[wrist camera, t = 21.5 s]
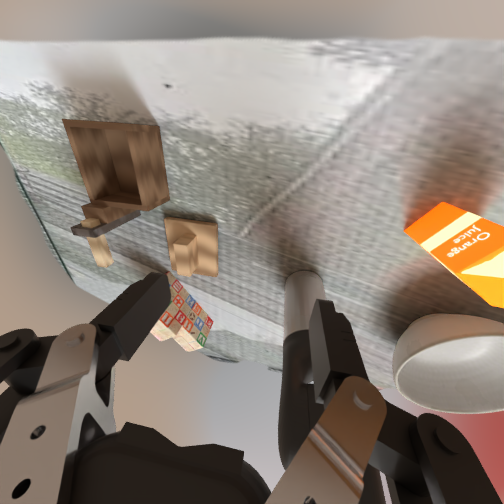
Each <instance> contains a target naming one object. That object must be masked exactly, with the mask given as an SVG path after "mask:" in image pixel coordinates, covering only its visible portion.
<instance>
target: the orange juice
mask: <svg viewBox="0 0 504 504" xmlns="http://www.w3.org/2000/svg"><path fill="white" fill-rule="evenodd" d="M404 232H405V233H407V234H408V235H409V236H410V237H411V238H412V239H413V240H414V241H416V242H417V243H418V244H419V245H420V246H421V247H422V248H423V249H425V250H426V251H427V252H428V253H429V254H430V255H431V256H433V257H434V258H435V259H436V260H437V261H439V262H440V263H441V264H442V265H443V266H445V267H446V268H447V269H448V270H449V271H450V272H452V273H453V274H454V275H455V276H456V277H458V278H459V279H460V280H461V281H463V282H464V283H465V284H466V285H468V286H469V287H470V288H471V289H472V290H474V291H475V292H476V293H477V294H478V295H480V296H481V297H482V298H483V299H484V300H485V301H486V302H487V303H489V304H490V305H491V306H496V307H501V308H504V227H503V226H501V225H498V224H496V223H493V222H491V221H489V220H486V219H484V218H482V217H480V216H477V215H475V214H473V213H470V212H467V211H464V210H462V209H459V208H457V207H455V206H452V205H450V204H447V203H445V202H441V203H440V204H439V205H437V206H436V207H435V208H433V209H432V210H431V211H429V212H428V213H427V214H425V215H424V216H423V217H421V218H420V219H419V220H417V221H416V222H415V223H413V224H412V225H411V226H409V227H408V228H407V229H405V230H404Z"/></svg>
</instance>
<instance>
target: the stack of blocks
mask: <svg viewBox="0 0 504 504" xmlns="http://www.w3.org/2000/svg"><path fill="white" fill-rule="evenodd" d="M165 274H166V275H167V276H168V281H169V286H170V291H171V301H170V304H169V306H168V308H167V309H166V310H165V312H164V313H163V314H162V316H161V317H160V319H159V320H158V321H157V323H156V324H155V325H154V327H153V328H152V330H151V331H150V332H151V333H152V334H153V335H154V336H155V337H156V338H157V339H158V340H159V341H163V340H166V339H168V338H171V337H173V338H174V340H176V341H177V342H178V343H179V344H180V345H181V346H182V347H183V348H184V349H185V350H186V351H187V352H189V351H193V350H196V349H200V348H203V347H204V344H205V342H206V339H207V336H208V334H209V332H210V329H211V327H212V324H213V321H212V320H211V319H210V318H209V316H208V315H207V314H206V313H205V311H204V310H203V309H202V308H201V307H200V306H199V304H198V303H197V302H196V301H195V300H194V299H193V298H192V297H191V295H189V293H188V292H187V291H186V290H185V289H184V288H183V286H182V285H181V284H180V283H179V281H178V280H177V279H176V278H175V277H174V276H173V274H172V273H171V272H170V271H169V272H167V273H165Z"/></svg>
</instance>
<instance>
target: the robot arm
mask: <svg viewBox="0 0 504 504" xmlns="http://www.w3.org/2000/svg"><path fill="white" fill-rule="evenodd" d="M170 301H171V291H170V286H169V281H168V276H167V275H166V274H161V273H155V272H151V273H150V274H148V275H147V276H146V277H145V278H144V279H143V280H139V281H137V282H136V283H134V284H132V285H130V286H129V287H128V288H127V289H126V290H125V291H124V292H123V293H122V294H120V295H119V296H118V297H117V298H116V300H114V301H113V302H112V303H111V304H109V305H108V306H107V307H106V308H105V309H104V310H103V311H102V312H101V313H100V314H99V315H97V316H96V318H94V319H93V320H92V321H91V322H90V323H89V324H79V325H76V326H73V327H71V328H69V329H67V330H65V331H64V332H62V333H61V334H60V335H57V336H47V337H37V336H36V334H35V333H34V331H33V330H31V329H18V330H14V331H11V332H9V333H6V334H4V335H2V336H0V383H1V382H2V381H5V382H6V383H7V384H8V385H9V386H10V387H8V389H6V390H5V391H4V392H3V393H2V394H1V395H0V504H386V501H385V496H384V491H383V486H382V481H381V476H380V471H381V472H382V473H384V474H385V476H386V480H387V484H388V488H389V492H390V497H391V501H392V504H503V503H502V502H501V500H500V498H499V496H498V494H497V492H496V491H495V489H494V487H493V485H492V483H491V481H490V479H489V478H488V476H487V474H486V472H485V470H484V469H483V467H482V465H481V463H480V461H479V459H478V457H477V456H476V454H475V452H474V450H473V448H472V447H471V445H470V444H469V442H468V441H467V439H466V438H465V437H464V436H463V435H462V433H461V432H460V431H459V430H458V429H457V428H455V427H454V426H453V425H452V424H451V423H449V422H448V421H447V420H445V419H443V418H441V417H440V416H437V415H434V414H431V413H424V414H421V415H420V416H419V417H418V418H417V417H416V416H413V415H411V414H410V413H408V412H406V411H403V410H402V409H400V408H398V407H396V406H394V405H393V404H391V403H389V402H388V401H386V400H385V399H384V398H383V396H382V395H381V393H380V392H379V391H378V389H377V388H376V387H375V386H374V385H373V384H372V383H370V381H369V379H368V376H367V373H366V370H365V367H364V364H363V361H362V358H361V355H360V352H359V349H358V346H357V343H356V339H355V336H354V335H353V330H352V327H351V324H350V322H349V321H348V319H347V318H346V317H345V316H344V314H343V313H337V312H336V311H335V307H334V303H333V301H329V300H327V299H326V294H325V290H324V286H323V281H322V279H321V278H320V277H319V276H318V275H317V274H315V273H313V272H310V271H298V272H295V273H293V274H291V275H290V276H289V277H288V278H287V280H286V283H285V306H284V341H283V373H282V386H281V398H280V409H279V423H278V445H279V453H280V458H281V462H282V465H283V467H284V469H285V470H286V471H285V473H284V474H283V476H282V477H281V479H280V481H279V482H278V484H277V485H276V487H275V488H274V490H273V491H272V493H271V491H270V489H269V488H268V486H267V484H266V483H265V481H264V480H263V478H262V477H261V476H260V475H259V473H258V472H257V471H256V470H255V469H254V468H253V467H252V466H251V465H250V464H248V463H247V462H245V461H244V460H243V457H244V451H241V450H237V449H233V448H229V447H225V446H221V445H217V444H206V445H196V446H187V447H179V446H177V445H175V444H174V443H172V442H171V441H170V440H169V439H167V438H166V437H164V436H163V435H162V434H160V433H159V432H158V431H156V430H155V429H153V428H149V427H145V426H141V425H137V424H133V423H129V422H126V423H125V425H124V427H123V428H122V430H121V431H119V432H116V425H115V419H114V415H113V400H114V381H115V366H114V365H115V363H116V362H117V361H118V360H119V359H120V360H125V361H129V360H130V359H131V357H132V356H133V354H134V353H135V352H136V350H137V349H138V347H139V346H140V345H141V343H142V342H143V341H144V339H145V338H146V336H147V335H148V334H149V332H150V331H151V330H152V328H153V327H154V325H155V324H156V323H157V321H158V320H159V319H160V317H161V316H162V314H163V313H164V312H165V310H166V309H167V308H168V306H169V304H170ZM311 381H314V384H308V383H310V382H311Z"/></svg>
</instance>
